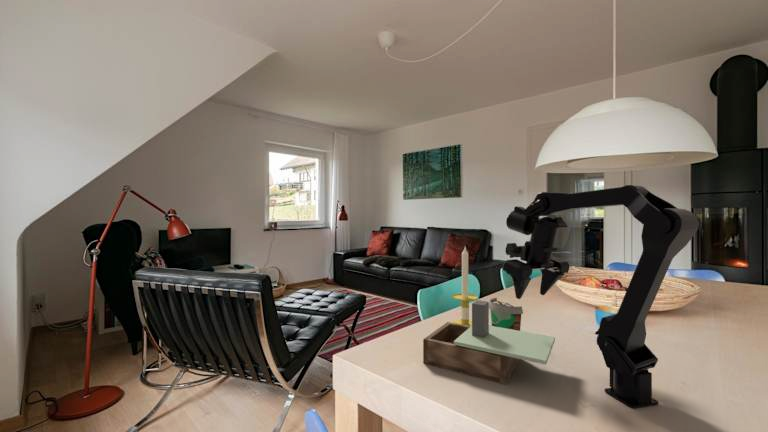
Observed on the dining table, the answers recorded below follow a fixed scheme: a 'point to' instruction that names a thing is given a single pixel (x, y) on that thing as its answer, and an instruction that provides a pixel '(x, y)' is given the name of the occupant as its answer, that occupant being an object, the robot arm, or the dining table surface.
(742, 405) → the dining table surface
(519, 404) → the dining table surface
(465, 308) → the candle
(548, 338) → the lid
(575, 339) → the dining table surface
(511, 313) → the food container
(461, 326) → the walnut box
